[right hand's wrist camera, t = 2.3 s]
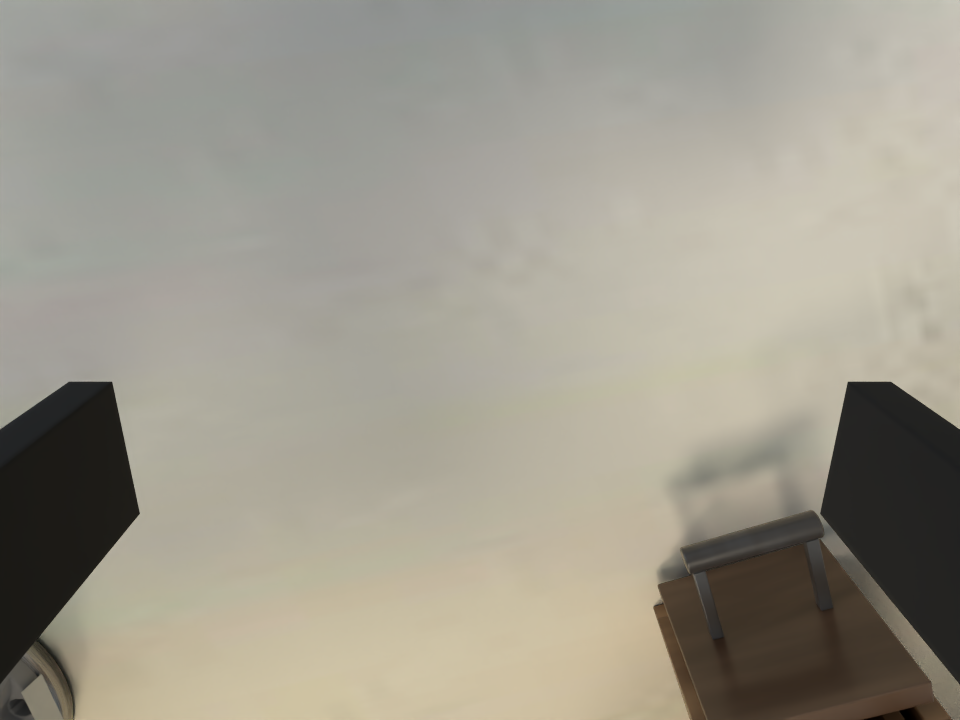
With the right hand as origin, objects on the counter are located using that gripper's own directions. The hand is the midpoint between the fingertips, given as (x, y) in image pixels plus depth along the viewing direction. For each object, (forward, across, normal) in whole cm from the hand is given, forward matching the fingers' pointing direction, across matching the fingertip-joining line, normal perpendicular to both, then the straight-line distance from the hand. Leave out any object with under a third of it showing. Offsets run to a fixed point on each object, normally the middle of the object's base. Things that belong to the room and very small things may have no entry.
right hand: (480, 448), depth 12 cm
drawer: (+21, -16, +23) cm, 35 cm away
